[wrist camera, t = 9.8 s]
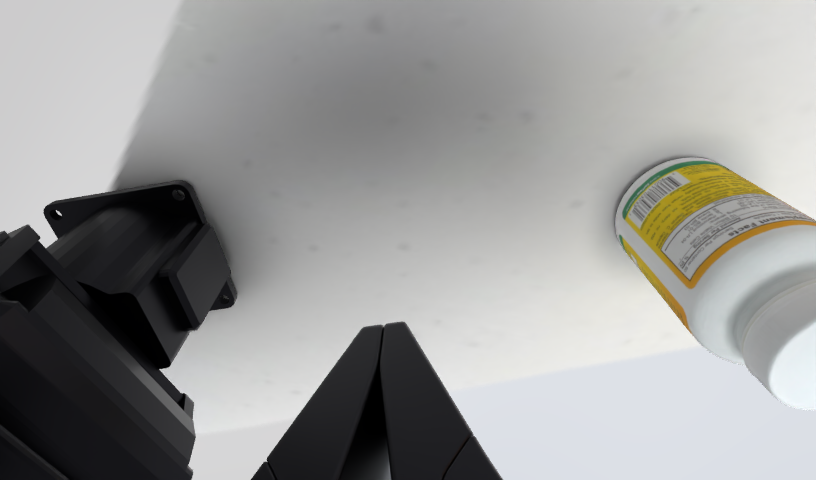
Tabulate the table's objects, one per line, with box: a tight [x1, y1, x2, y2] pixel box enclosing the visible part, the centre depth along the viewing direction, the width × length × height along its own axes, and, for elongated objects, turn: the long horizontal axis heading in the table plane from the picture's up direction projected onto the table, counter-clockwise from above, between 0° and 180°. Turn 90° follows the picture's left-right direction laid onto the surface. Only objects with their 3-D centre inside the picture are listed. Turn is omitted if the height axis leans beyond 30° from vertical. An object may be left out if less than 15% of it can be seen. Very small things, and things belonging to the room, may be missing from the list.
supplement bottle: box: [615, 157, 816, 410], centre depth 17 cm, size 5×5×10 cm
